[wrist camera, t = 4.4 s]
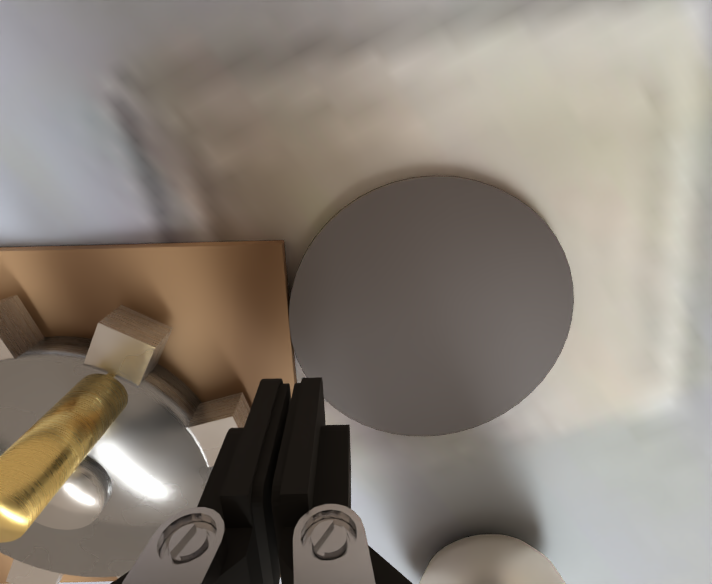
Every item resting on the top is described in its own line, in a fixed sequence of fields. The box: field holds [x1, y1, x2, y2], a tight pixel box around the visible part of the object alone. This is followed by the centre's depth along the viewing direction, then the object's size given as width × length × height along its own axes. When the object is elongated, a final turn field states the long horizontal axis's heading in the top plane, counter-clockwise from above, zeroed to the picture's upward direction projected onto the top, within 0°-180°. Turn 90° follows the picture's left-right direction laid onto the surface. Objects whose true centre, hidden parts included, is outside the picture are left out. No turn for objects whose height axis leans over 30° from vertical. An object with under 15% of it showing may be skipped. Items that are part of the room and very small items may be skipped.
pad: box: [289, 176, 574, 436], centre depth 15 cm, size 10×10×1 cm
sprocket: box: [0, 295, 250, 584], centre depth 14 cm, size 13×13×6 cm
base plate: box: [0, 240, 297, 584], centre depth 17 cm, size 16×16×1 cm
